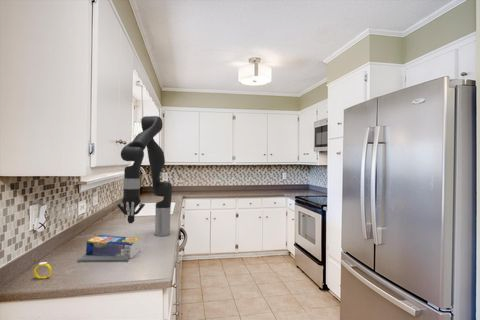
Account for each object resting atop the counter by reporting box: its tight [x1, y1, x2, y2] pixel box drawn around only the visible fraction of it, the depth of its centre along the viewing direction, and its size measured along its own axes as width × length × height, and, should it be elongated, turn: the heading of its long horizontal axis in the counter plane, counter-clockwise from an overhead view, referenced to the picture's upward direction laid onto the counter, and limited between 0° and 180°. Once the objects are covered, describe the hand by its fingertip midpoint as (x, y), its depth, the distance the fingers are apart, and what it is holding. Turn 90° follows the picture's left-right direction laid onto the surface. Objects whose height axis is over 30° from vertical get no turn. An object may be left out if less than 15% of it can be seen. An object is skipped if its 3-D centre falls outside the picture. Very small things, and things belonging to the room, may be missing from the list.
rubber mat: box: [76, 253, 131, 263], centre depth 136 cm, size 16×22×1 cm
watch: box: [33, 261, 53, 280], centre depth 110 cm, size 6×3×6 cm, turn 97°
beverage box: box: [85, 234, 142, 260], centre depth 139 cm, size 7×11×22 cm
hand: (130, 223), depth 137 cm, fingers closed
